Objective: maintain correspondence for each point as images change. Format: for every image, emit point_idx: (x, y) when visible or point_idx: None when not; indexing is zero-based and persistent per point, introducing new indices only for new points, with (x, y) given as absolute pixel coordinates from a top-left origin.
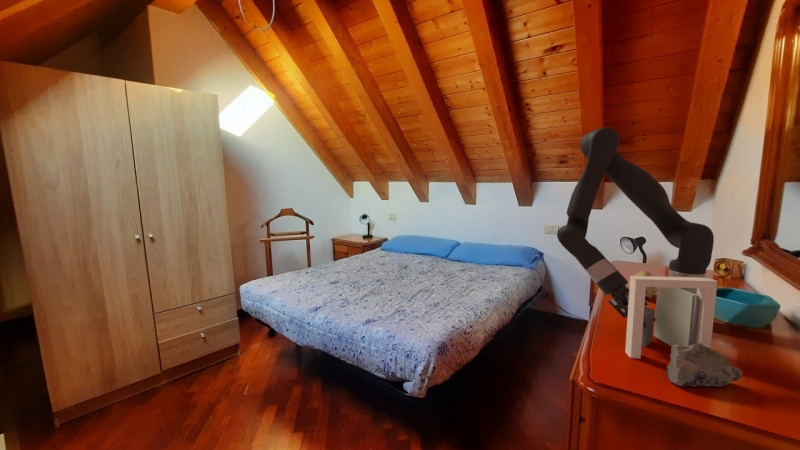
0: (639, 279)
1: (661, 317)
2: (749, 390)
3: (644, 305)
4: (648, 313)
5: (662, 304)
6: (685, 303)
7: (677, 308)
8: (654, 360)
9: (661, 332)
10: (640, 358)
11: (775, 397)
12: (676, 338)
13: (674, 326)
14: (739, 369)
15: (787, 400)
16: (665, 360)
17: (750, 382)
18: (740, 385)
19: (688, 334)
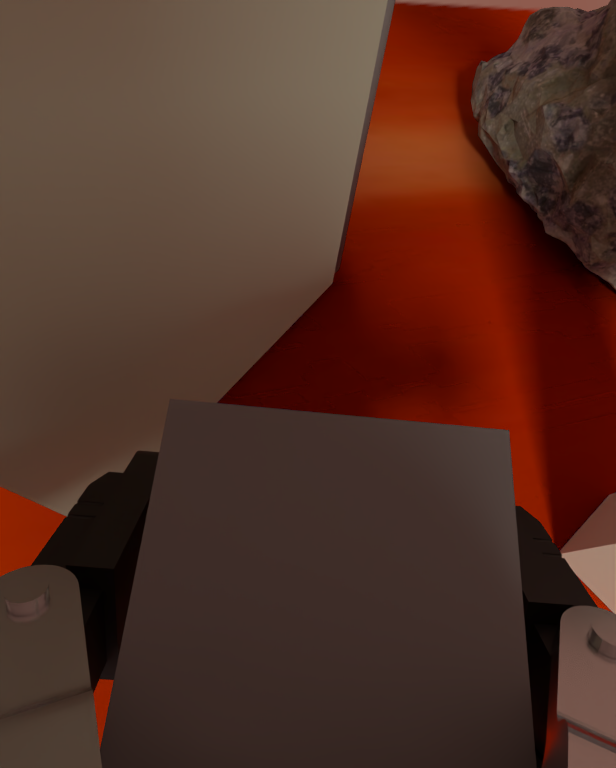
0: None
1: (83, 386)
2: (468, 86)
3: (4, 617)
4: (465, 427)
5: None
6: None
7: (242, 16)
8: (546, 421)
9: (145, 438)
10: (610, 494)
11: (445, 34)
12: (267, 302)
13: (243, 259)
14: (548, 9)
15: (433, 13)
16: (482, 372)
17: (382, 84)
18: (450, 107)
19: (350, 162)
